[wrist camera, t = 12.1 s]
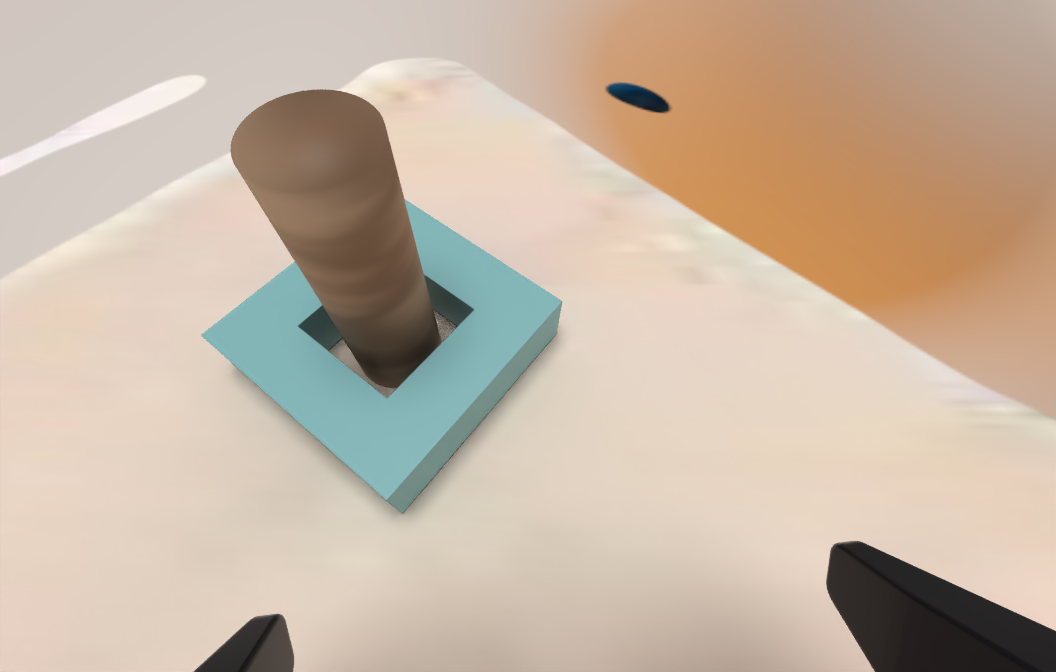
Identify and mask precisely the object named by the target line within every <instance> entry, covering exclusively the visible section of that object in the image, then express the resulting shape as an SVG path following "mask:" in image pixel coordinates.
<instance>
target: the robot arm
mask: <svg viewBox="0 0 1056 672" xmlns="http://www.w3.org/2000/svg"><path fill="white" fill-rule="evenodd" d="M826 584H827V590H828V593H829V596H830V598H831V600H832V602H833V603H834V605H835V606H836V608H837V610H838V611H839V613H840V615H841V616H842V618H843V620H844V621H845V623H846V625H847V626H848V628H849V630H850V631H851V633H852V635H853V636H854V638H855V640H856V641H857V643H858V644H859V646H860V648H861V649H862V651H863V653H864V654H865V656H866V658H867V659H868V661H869V663H870V664H871V666H872V668H873V669H874V671H875V672H1056V631H1054V630H1052V629H1050V628H1048V627H1046V626H1044V625H1041V624H1039V623H1037V622H1035V621H1033V620H1031V619H1028V618H1026V617H1024V616H1022V615H1020V614H1017V613H1015V612H1013V611H1011V610H1009V609H1007V608H1004V607H1002V606H1000V605H998V604H996V603H993V602H991V601H989V600H987V599H985V598H983V597H980V596H978V595H976V594H974V593H972V592H970V591H967V590H965V589H963V588H961V587H959V586H956V585H954V584H952V583H950V582H948V581H946V580H943V579H941V578H939V577H937V576H935V575H932V574H930V573H928V572H926V571H924V570H922V569H919V568H917V567H915V566H913V565H911V564H909V563H906V562H904V561H902V560H900V559H898V558H895V557H893V556H891V555H889V554H887V553H885V552H882V551H880V550H878V549H876V548H874V547H871V546H869V545H867V544H865V543H863V542H860V541H849V542H841V543H836V544H834V545H833V547H832V548H831V551H830V558H829V565H828V573H827V580H826ZM293 668H294V654H293V649H292V645H291V641H290V637H289V633H288V629H287V625H286V621H285V619H284V617H283V616H282V615H281V614H272V615H264V616H257V617H254V618H253V619H251V620H250V621H248V622H247V623H246V624H245V625H244V626H243V627H242V628H241V629H240V630H239V631H237V632H236V633H235V634H234V635H233V636H232V637H231V638H230V639H229V640H228V641H226V642H225V643H224V644H223V645H222V646H221V647H220V648H219V649H218V650H217V651H216V652H214V653H213V654H212V655H211V656H210V657H209V658H208V659H207V660H206V661H205V662H204V663H202V664H201V665H200V666H199V667H198V668H197V669H196V670H195V671H194V672H293Z"/></svg>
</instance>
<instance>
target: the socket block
mask: <svg viewBox="0 0 1056 672" xmlns="http://www.w3.org/2000/svg"><path fill="white" fill-rule="evenodd" d="M404 200H405V199H404ZM405 204H406V208H407V212H408V215H409V219H410V223H411V227H412V231H413V235H414V239H415V242H416V246H417V250H418V254H419V258H420V262H421V266H422V269H423V273H424V277H425V281H426V285H427V289H428V293H429V296H430V300H431V304H432V308H433V309H434V310H435V311H437V312H438V313H440V314H441V315H442V316H444V317H445V318H447V319H448V320H449V321H451V322H452V323H454V324H455V325H456V326H458V327H457V328H456V329H455V330H454V331H453V332H452V333H451V334H450V335H449V336H448V337H447V338H446V339H445V340H444V341H443V342H442V343H441V344H440V345H439V346H438V347H437V348H436V349H435V350H434V351H433V352H432V353H431V354H430V355H429V356H428V358H427V359H426V360H425V361H424V362H423V363H422V364H421V365H420V366H419V367H418V368H417V369H416V370H415V371H414V372H413V373H412V374H411V375H410V376H409V377H408V378H407V379H406V380H405V381H404V382H403V383H402V384H401V385H400V386H399V387H398V388H397V389H396V390H395V391H394V392H393V393H392V394H391V395H390V396H389V397H388V398H386V397H384V396H383V395H382V394H381V393H379V392H378V391H377V390H376V389H374V388H373V387H372V386H371V385H369V384H368V383H367V382H366V381H365V380H363V379H362V378H361V377H360V376H358V375H357V374H356V373H355V372H353V371H352V370H351V369H350V368H349V367H347V366H346V365H345V364H344V363H342V362H341V361H340V360H339V359H337V358H336V357H335V356H334V355H332V354H331V353H330V352H329V351H328V350H329V349H330V348H332V347H333V346H334V345H335V344H336V343H337V342H338V341H339V340H340V339H342V338H343V337H342V336H341V334H340V333H339V331H338V329H337V328H336V326H335V325H334V323H333V321H332V320H331V318H330V317H329V315H328V313H327V312H326V310H325V309H324V307H323V305H322V304H321V302H320V301H319V299H318V297H317V296H316V294H315V293H314V291H313V289H312V288H311V286H310V285H309V283H308V281H307V280H306V278H305V276H304V275H303V273H302V272H301V270H300V268H299V267H298V265H297V264H296V262H294V263H293V264H291V265H290V266H289V267H288V268H286V269H285V270H284V271H282V272H281V273H280V274H279V275H277V276H276V277H275V278H273V279H272V280H271V281H270V282H268V283H267V284H266V285H264V286H263V287H262V288H261V289H259V290H258V291H257V292H255V293H254V294H253V295H252V296H250V297H249V298H248V299H247V300H245V301H244V302H243V303H241V304H240V305H239V306H238V307H236V308H235V309H234V310H232V311H231V312H230V313H229V314H227V315H226V316H225V317H223V318H222V319H221V320H220V321H218V322H217V323H216V324H214V325H213V326H212V327H211V328H209V329H208V330H207V331H206V332H204V333H203V334H202V335H201V336H202V337H203V338H204V339H206V340H207V341H208V342H209V343H210V344H211V345H212V346H213V347H215V348H216V349H217V350H218V351H219V352H220V353H221V354H222V355H224V356H225V357H226V358H227V359H228V360H229V361H230V362H231V363H233V364H234V365H235V366H236V367H237V368H238V369H239V370H240V371H242V372H243V373H244V374H245V375H246V376H247V377H248V378H249V379H251V380H252V381H253V382H254V383H255V384H256V385H257V386H258V387H260V388H261V389H262V390H263V391H264V392H265V393H266V394H267V395H269V396H270V397H271V398H272V399H273V400H274V401H275V402H276V403H278V404H279V405H280V406H281V407H282V408H283V409H284V410H285V411H287V412H288V413H289V414H290V415H291V416H292V417H293V418H294V419H295V420H297V421H298V422H299V423H300V424H301V425H302V426H303V427H304V428H306V429H307V430H308V431H309V432H310V433H311V434H312V435H313V436H315V437H316V438H317V439H318V440H319V441H320V442H321V443H322V444H324V445H325V446H326V447H327V448H328V449H329V450H330V451H331V452H333V453H334V454H335V455H336V456H337V457H338V458H339V459H340V460H342V461H343V462H344V463H345V464H346V465H347V466H348V467H349V468H351V469H352V470H353V471H354V472H355V473H356V474H357V475H358V476H360V477H361V478H362V479H363V480H364V481H365V482H366V483H367V484H369V485H370V486H371V487H372V488H373V489H374V490H375V491H376V492H377V493H379V494H380V495H381V496H382V497H383V498H384V499H385V500H386V501H388V502H389V503H390V504H391V505H392V506H394V507H395V508H396V509H397V510H398V511H399V512H401V513H402V514H403V513H404V511H405V510H406V509H407V508H408V507H409V505H410V504H411V503H412V502H413V501H414V500H415V498H416V497H417V496H418V495H419V494H420V493H421V491H422V490H423V489H424V488H425V487H426V486H427V484H428V483H429V482H430V481H431V480H432V479H433V477H434V476H435V475H436V474H437V473H438V472H439V470H440V469H441V468H442V467H443V466H444V465H445V463H446V462H447V461H448V460H449V459H450V458H451V456H452V455H453V454H454V453H455V452H456V451H457V449H458V448H459V447H460V446H461V445H462V444H463V442H464V441H465V440H466V439H467V438H468V436H469V435H470V434H471V433H472V432H473V431H474V429H475V428H476V427H477V426H478V425H479V424H480V422H481V421H482V420H483V419H484V418H485V417H486V415H487V414H488V413H489V412H490V411H491V410H492V408H493V407H494V406H495V405H496V404H497V403H498V401H499V400H500V399H501V398H502V397H503V396H504V394H505V393H506V392H507V391H508V390H509V389H510V387H511V386H512V385H513V384H514V383H515V382H516V380H517V379H518V378H519V377H520V376H521V375H522V373H523V372H524V371H525V370H526V369H527V367H528V366H529V365H530V364H531V363H532V362H533V360H534V359H535V358H536V357H537V356H538V355H539V353H540V352H541V351H542V350H543V349H544V348H545V346H546V345H547V344H548V343H549V342H550V341H551V339H552V338H553V337H554V336H555V335H556V334H557V328H558V322H559V317H560V311H561V305H562V301H561V300H560V299H558V298H556V297H555V296H553V295H552V294H550V293H549V292H547V291H546V290H544V289H543V288H541V287H539V286H538V285H536V284H535V283H533V282H532V281H530V280H529V279H527V278H526V277H524V276H522V275H521V274H519V273H518V272H516V271H515V270H513V269H512V268H510V267H509V266H507V265H505V264H504V263H502V262H501V261H499V260H498V259H496V258H495V257H493V256H492V255H490V254H488V253H487V252H485V251H484V250H482V249H481V248H479V247H478V246H476V245H475V244H473V243H471V242H470V241H468V240H467V239H465V238H464V237H462V236H461V235H459V234H458V233H456V232H454V231H453V230H451V229H450V228H448V227H447V226H445V225H444V224H442V223H441V222H439V221H437V220H436V219H434V218H433V217H431V216H430V215H428V214H427V213H425V212H424V211H422V210H420V209H419V208H417V207H416V206H414V205H413V204H411V203H410V202H408V201H407V200H405Z"/></svg>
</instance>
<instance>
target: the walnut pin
mask: <svg viewBox="0 0 1056 672" xmlns="http://www.w3.org/2000/svg"><path fill="white" fill-rule="evenodd" d="M231 156H232V160H233V162H234V164H235V166H236V168H237V169H238V171H239V172H240V174H241V176H242V177H243V179H244V180H245V182H246V184H247V185H248V187H249V188H250V190H251V192H252V193H253V195H254V196H255V198H256V200H257V201H258V203H259V204H260V206H261V208H262V209H263V211H264V212H265V214H266V216H267V217H268V219H269V220H270V222H271V224H272V225H273V227H274V228H275V230H276V232H277V233H278V235H279V236H280V238H281V240H282V241H283V243H284V244H285V246H286V248H287V249H288V251H289V252H290V254H291V256H292V257H293V259H294V260H295V262H296V264H297V265H298V267H299V268H300V270H301V272H302V273H303V275H304V276H305V278H306V280H307V281H308V283H309V285H310V286H311V288H312V289H313V291H314V293H315V294H316V296H317V297H318V299H319V301H320V302H321V304H322V305H323V307H324V309H325V310H326V312H327V313H328V315H329V317H330V318H331V320H332V321H333V323H334V325H335V326H336V328H337V329H338V331H339V333H340V334H341V336H342V337H343V339H344V341H345V342H346V344H347V345H348V347H349V349H350V350H351V352H352V353H353V355H354V357H355V358H356V360H357V361H358V363H359V365H360V366H361V368H362V369H363V371H364V373H365V374H366V375H367V376H368V377H369V378H370V379H371V380H372V381H374V382H375V383H377V384H379V385H382V386H385V387H391V388H398V387H399V386H400V385H401V384H402V383H403V382H404V381H405V380H406V379H407V378H408V377H409V376H410V375H411V374H412V373H413V372H414V371H415V370H416V369H417V368H418V367H419V366H420V365H421V364H422V363H423V362H424V361H425V360H426V359H427V358H428V356H429V355H430V354H431V353H432V352H433V351H434V350H435V349H436V348H437V347H438V346H439V345H440V344H441V339H440V335H439V331H438V327H437V324H436V320H435V316H434V312H433V308H432V304H431V300H430V296H429V293H428V289H427V285H426V281H425V277H424V273H423V269H422V266H421V262H420V258H419V254H418V250H417V246H416V242H415V239H414V235H413V231H412V227H411V223H410V219H409V215H408V212H407V208H406V204H405V200H404V196H403V192H402V188H401V184H400V181H399V177H398V173H397V169H396V165H395V161H394V157H393V154H392V150H391V146H390V142H389V138H388V134H387V130H386V127H385V123H384V120H383V118H382V116H381V115H380V113H379V112H378V110H377V109H376V108H375V107H374V106H373V105H371V104H370V103H369V102H367V101H366V100H364V99H362V98H360V97H358V96H355V95H352V94H349V93H346V92H341V91H335V90H308V91H301V92H296V93H292V94H288V95H284V96H281V97H279V98H276V99H274V100H272V101H269V102H267V103H265V104H264V105H262V106H260V107H259V108H257V109H256V110H254V111H253V112H252V113H251V114H249V115H248V116H247V117H246V118H245V119H244V120H243V121H242V123H241V124H240V125H239V127H238V128H237V130H236V131H235V134H234V136H233V139H232V142H231Z"/></svg>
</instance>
